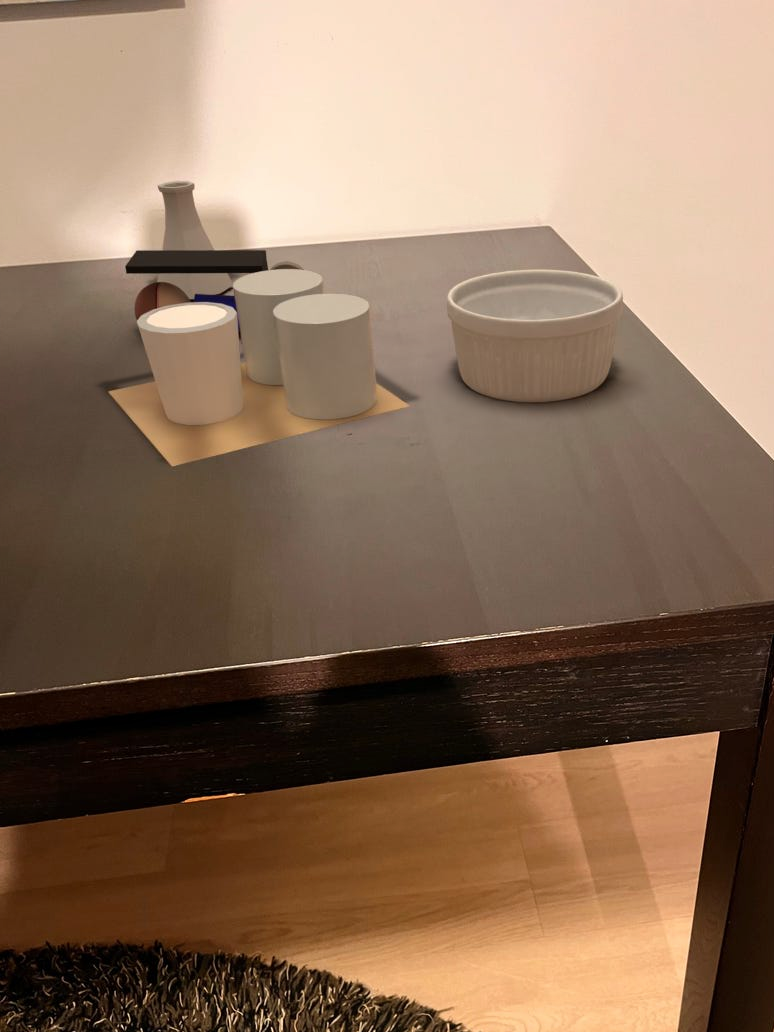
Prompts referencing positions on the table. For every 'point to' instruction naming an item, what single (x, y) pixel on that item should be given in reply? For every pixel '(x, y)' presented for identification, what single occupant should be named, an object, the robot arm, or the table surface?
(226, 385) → the white tapered cup
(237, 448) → the board
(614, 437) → the table surface
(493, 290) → the ramekin
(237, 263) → the figurine character
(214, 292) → the flask
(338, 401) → the white front cylinder
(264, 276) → the white tall rear cylinder
